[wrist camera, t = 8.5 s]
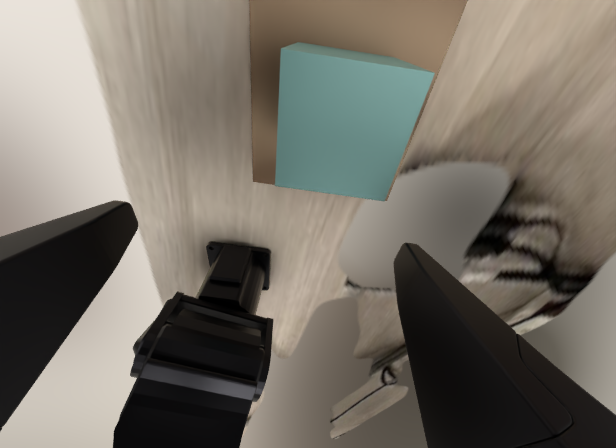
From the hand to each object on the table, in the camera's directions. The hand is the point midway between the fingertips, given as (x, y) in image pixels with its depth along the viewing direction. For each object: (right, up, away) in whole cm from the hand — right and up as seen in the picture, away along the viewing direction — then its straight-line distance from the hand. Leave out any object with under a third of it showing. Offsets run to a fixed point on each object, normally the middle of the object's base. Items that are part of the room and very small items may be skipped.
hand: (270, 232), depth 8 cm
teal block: (+3, +7, +6) cm, 10 cm away
